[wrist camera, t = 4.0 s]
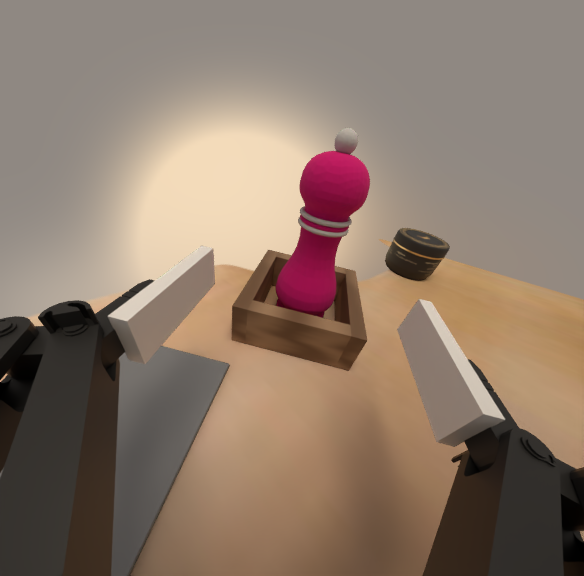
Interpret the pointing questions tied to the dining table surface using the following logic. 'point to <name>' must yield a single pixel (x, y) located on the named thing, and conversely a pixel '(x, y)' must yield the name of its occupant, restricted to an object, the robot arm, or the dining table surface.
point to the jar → (415, 253)
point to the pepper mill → (323, 226)
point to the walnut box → (300, 319)
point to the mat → (155, 439)
